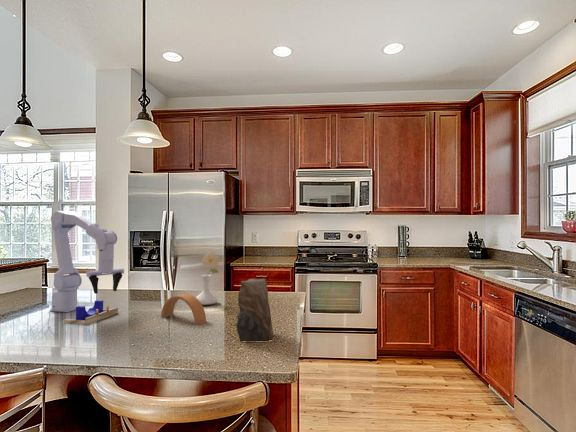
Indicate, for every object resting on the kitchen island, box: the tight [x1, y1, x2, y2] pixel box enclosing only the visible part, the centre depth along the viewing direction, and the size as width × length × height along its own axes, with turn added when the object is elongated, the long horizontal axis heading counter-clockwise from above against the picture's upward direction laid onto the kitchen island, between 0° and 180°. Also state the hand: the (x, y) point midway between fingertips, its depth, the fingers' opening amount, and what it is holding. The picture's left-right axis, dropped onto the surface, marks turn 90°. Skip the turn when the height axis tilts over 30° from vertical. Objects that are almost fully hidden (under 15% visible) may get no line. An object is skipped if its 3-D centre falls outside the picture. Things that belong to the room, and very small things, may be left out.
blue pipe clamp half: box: [75, 299, 104, 321], centre depth 150 cm, size 12×4×6 cm, turn 169°
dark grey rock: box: [236, 277, 274, 342], centre depth 128 cm, size 13×13×20 cm
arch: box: [160, 293, 207, 325], centre depth 149 cm, size 6×20×10 cm, turn 59°
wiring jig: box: [62, 305, 119, 325], centre depth 150 cm, size 11×18×4 cm, turn 168°
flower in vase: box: [195, 252, 220, 306], centre depth 175 cm, size 13×11×25 cm
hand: (105, 292), depth 154 cm, fingers open, 7 cm apart
